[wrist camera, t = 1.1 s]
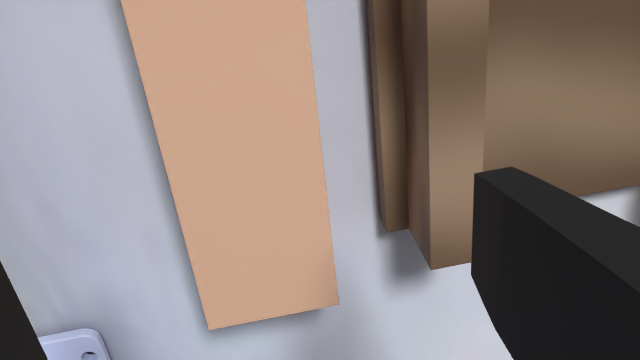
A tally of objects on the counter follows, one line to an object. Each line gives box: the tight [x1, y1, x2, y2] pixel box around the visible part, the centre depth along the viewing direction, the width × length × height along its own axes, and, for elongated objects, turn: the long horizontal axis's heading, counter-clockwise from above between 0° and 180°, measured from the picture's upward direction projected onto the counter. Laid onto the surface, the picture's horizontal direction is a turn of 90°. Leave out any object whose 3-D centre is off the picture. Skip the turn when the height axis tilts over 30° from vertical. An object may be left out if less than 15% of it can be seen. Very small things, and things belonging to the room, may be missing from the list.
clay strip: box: [121, 0, 339, 330], centre depth 16 cm, size 14×4×3 cm, turn 6°
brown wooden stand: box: [366, 0, 640, 270], centre depth 17 cm, size 12×12×3 cm
